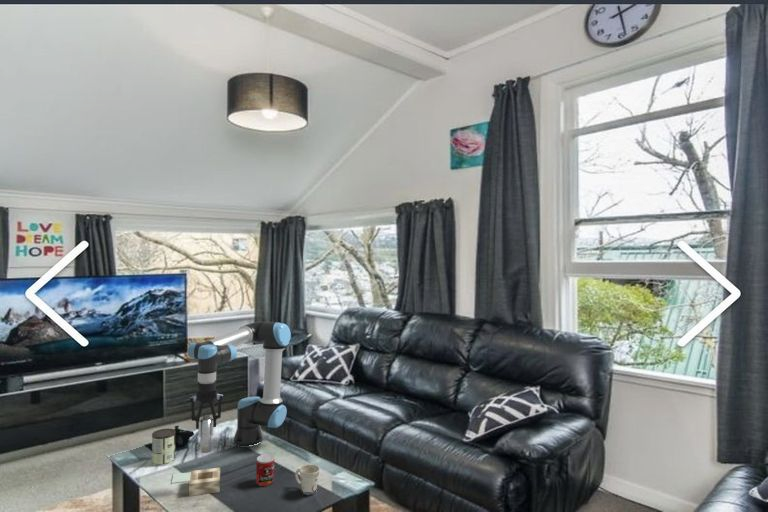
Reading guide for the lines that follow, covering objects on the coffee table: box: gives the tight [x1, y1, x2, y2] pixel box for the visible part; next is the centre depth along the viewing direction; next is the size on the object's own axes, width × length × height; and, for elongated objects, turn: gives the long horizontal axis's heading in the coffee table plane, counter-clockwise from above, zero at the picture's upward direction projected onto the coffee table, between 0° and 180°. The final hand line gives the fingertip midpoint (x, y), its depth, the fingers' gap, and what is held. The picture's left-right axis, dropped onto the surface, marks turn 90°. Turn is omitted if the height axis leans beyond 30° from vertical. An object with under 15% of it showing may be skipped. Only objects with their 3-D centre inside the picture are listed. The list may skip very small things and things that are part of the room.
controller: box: [173, 425, 195, 448], centre depth 243 cm, size 4×12×10 cm, turn 77°
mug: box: [294, 464, 320, 492], centre depth 201 cm, size 8×13×10 cm, turn 58°
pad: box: [171, 471, 191, 485], centre depth 210 cm, size 8×8×1 cm
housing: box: [188, 467, 221, 497], centre depth 202 cm, size 12×12×5 cm
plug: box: [199, 414, 213, 454], centre depth 202 cm, size 4×4×15 cm
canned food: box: [255, 453, 275, 487], centre depth 208 cm, size 8×8×11 cm
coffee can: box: [151, 427, 176, 467], centre depth 225 cm, size 10×10×14 cm
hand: (206, 435), depth 202 cm, fingers closed on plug, 4 cm apart
